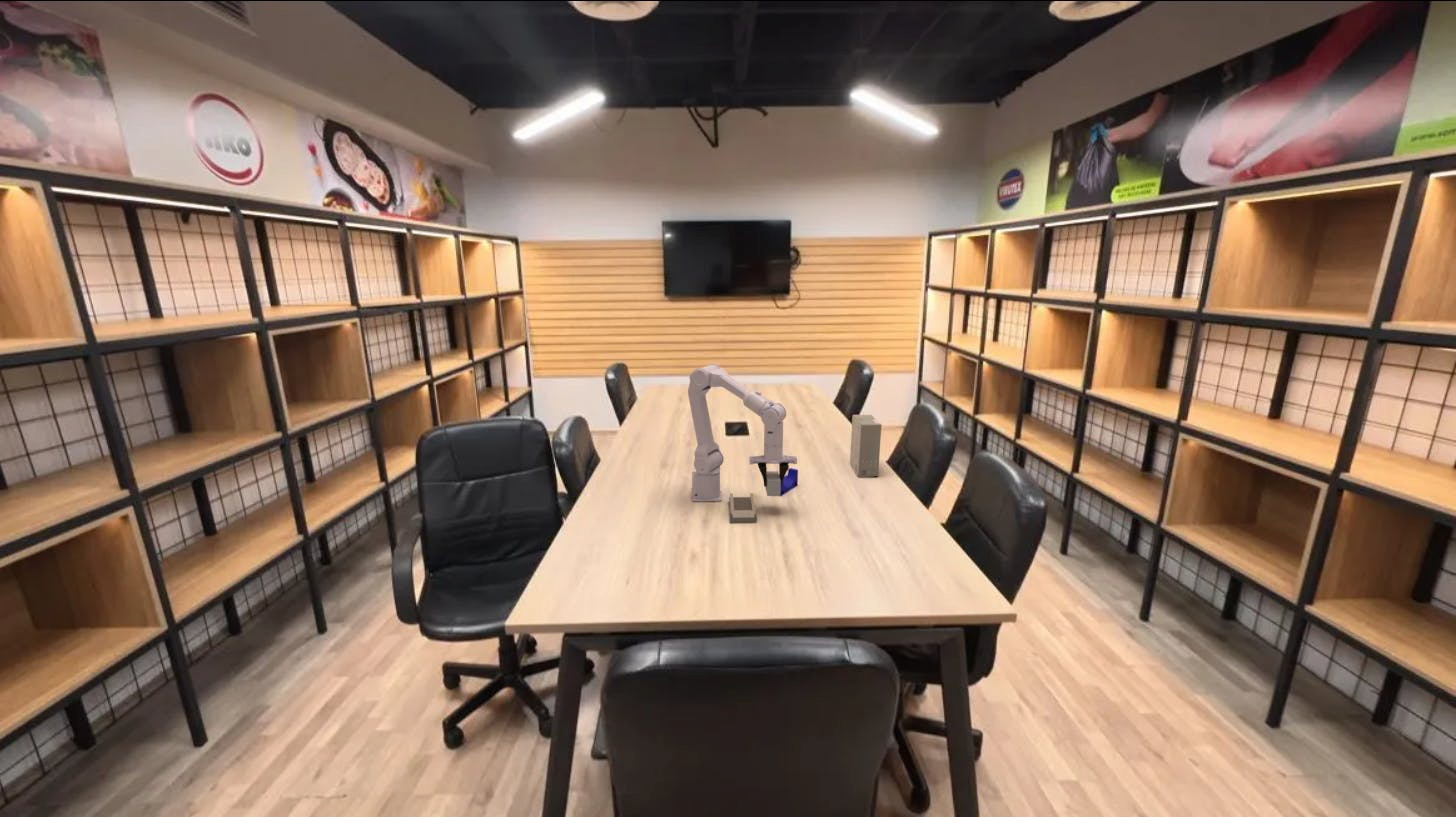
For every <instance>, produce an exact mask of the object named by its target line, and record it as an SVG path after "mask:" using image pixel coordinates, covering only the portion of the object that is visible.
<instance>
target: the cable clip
mask: <svg viewBox="0 0 1456 817" xmlns="http://www.w3.org/2000/svg"><path fill="white" fill-rule="evenodd" d="M798 475H799V470H798V469H797V468H793V467H792V468H791V467H789V468H788V470H787V474H785V476H784V479H783V482H782V487H781V492H780V496H779V497H782V496H783V495H785V494H786V493H788V492H790V491H791V490H793V489H794V488H796V487H797V486H798V485H799V484H798V481H799V476H798Z"/></svg>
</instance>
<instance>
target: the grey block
mask: <svg viewBox="0 0 1456 817" xmlns="http://www.w3.org/2000/svg"><path fill="white" fill-rule="evenodd" d="M766 481H767V487H764V488H765V492H766V496H767V497H781V496H780V492H781V480H780V476H779V471H776V470H773V471H771V470H769V471H767V472H766Z"/></svg>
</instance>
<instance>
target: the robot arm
mask: <svg viewBox="0 0 1456 817" xmlns="http://www.w3.org/2000/svg"><path fill="white" fill-rule="evenodd" d="M688 376H689V385H688V388H687V396H688V402H689V406H690V411H691V418H692V422H693V426H694V427H693V428H694V432H695V437H696V442H697V446H696V449H695V450H694V452H693V453H694V455H693V456H694V461H693V466H694V470H695V471H692V474H691V494H692V495H691V497H692V498H691V501H692V502H721V501H722V490H721V466H722V465H723V463H724V460H725V459H724V455H723V453H722V451H721V450H720V444H718V443H717V442H715V439H714V434H713V433H714V432H713V428H712V423H711V418H710V413H709V407H708V402H707V394H708V392H709V391H710V390H711V389H712V388H717V387H719V388H720V387H721V388H724V389H725V390H726V391H728V392H730V393H731V394H733V395H734V396H736V397H738V398H739V399H741V401H742V402H743V406H745V407H746V408H747V409H748V410H750V411H752V412H753V413H754V414H755V415H757V416H759V417H760V420H761V421H762V423H763V425H764V426H763V427H764V428H763V430H764V431H763V432H764V433H763V455H755V456H754V455H753V456H749V458H748V460H749V462H748V463H749V465H757V467H758V470H759V471H760V473H761V476H762V479H763V487H764V488H765V487H767V481H766V472H767V470H768V467H767V465H768V464H769V465H772V464H773V465H775V464H776V465H777V464H778V465H779V471H778V473H779V476H780V480H781V487H782V482H783V479H784V476H786V475H787V473H788V469H790V466H789V464H793V465H797V464H798V457H797V456H796V455H784V454H783V452H784V450H783V448H784V420H785V418H786V417H787V410H786V408H785V406H783V404H782V403H779V402H775V401H773V400H771V399H768V398H767V397H765V396H764V395H763V394H762V391H760V390H755V389H752V390H749V389H748V388H746V387H745V386H744V385H743V384H742V383H740V382H739V381H737V380H736V379H735V378H734V377H732V376H731V375H730V374H729V373H727V371H726V369H724V368H722V367H720V365H718V364H715V363H711V364H708V365H705V366H702V367H697V368H695V369H694V370H693V371H692V372H691V374H690V375H688Z"/></svg>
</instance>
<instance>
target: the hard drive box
mask: <svg viewBox="0 0 1456 817" xmlns="http://www.w3.org/2000/svg"><path fill="white" fill-rule="evenodd" d="M882 426H883V425H882V424H881V423H880V422H879V421H878V419H877V418H875V417H874V415H872V414H852V417H851V435H850V436H851V437H850V455H849V456H850V457H849V464H850V466H851V468H852V467H853V468H852V469H854V470H853V471H854V473H855V475H856V474H857V475H856V477H857V478H860V477H861V478H862V477H863V478H875V477H874V476H878V477H879V469H880V468H879V466H880V452H881V439H882V438H881V437H882Z"/></svg>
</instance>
